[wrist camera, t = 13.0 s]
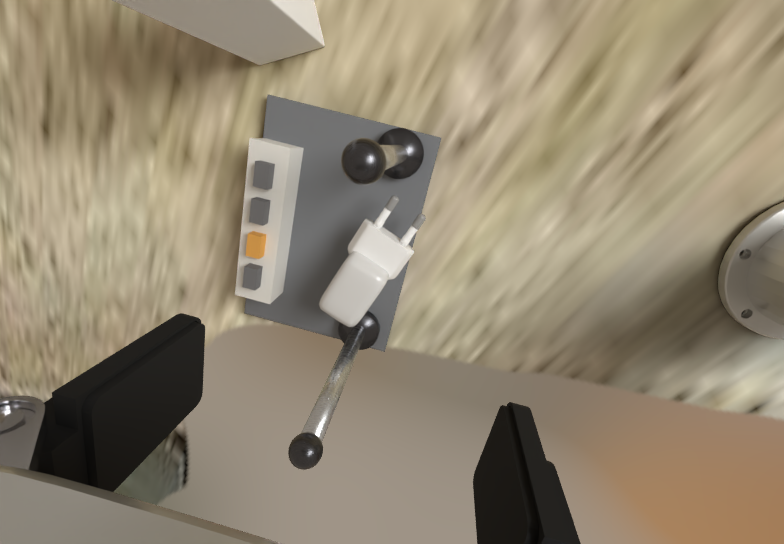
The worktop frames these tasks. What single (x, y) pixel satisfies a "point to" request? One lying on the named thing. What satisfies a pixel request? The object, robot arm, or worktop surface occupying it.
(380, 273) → the power adapter
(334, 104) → the worktop surface
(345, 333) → the cord post
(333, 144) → the mat
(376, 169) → the cord post
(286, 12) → the milk
